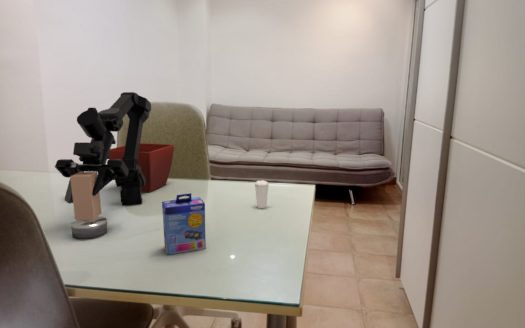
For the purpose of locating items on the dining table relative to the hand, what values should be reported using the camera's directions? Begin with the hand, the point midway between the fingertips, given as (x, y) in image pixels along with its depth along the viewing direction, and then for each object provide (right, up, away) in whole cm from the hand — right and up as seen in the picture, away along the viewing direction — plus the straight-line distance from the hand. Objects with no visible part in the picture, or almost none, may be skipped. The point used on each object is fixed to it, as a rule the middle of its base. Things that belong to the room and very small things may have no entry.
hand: (83, 195), depth 101 cm
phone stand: (-19, -5, +37) cm, 42 cm away
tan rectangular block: (0, -6, +3) cm, 7 cm away
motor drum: (0, -11, +4) cm, 12 cm away
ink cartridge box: (+29, -13, -7) cm, 32 cm away
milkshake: (+48, -6, +26) cm, 55 cm away
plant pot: (0, -2, +52) cm, 52 cm away
